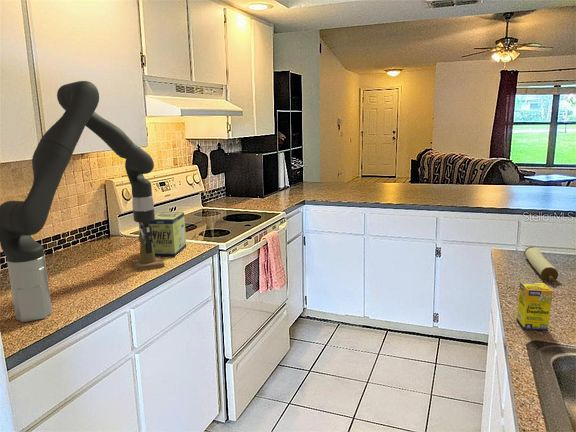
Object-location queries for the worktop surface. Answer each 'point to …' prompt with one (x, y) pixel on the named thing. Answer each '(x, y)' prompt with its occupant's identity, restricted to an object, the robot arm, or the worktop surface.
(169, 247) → the protein box
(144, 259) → the cork
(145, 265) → the brown square tray
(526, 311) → the supplement box
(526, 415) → the worktop surface
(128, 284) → the worktop surface
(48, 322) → the worktop surface
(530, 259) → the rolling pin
